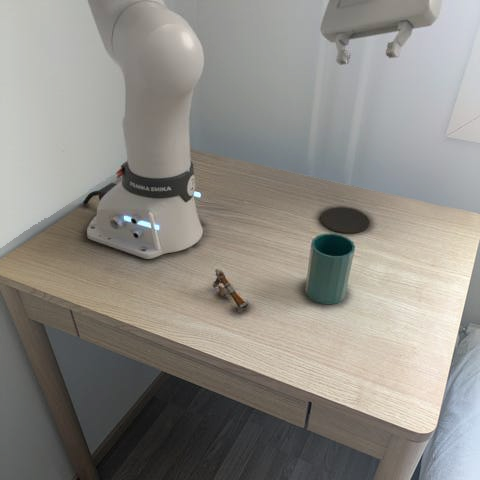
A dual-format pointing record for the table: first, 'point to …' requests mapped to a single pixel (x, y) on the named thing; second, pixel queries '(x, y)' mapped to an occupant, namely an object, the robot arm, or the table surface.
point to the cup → (329, 268)
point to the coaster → (345, 220)
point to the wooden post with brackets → (229, 290)
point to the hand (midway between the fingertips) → (365, 59)
